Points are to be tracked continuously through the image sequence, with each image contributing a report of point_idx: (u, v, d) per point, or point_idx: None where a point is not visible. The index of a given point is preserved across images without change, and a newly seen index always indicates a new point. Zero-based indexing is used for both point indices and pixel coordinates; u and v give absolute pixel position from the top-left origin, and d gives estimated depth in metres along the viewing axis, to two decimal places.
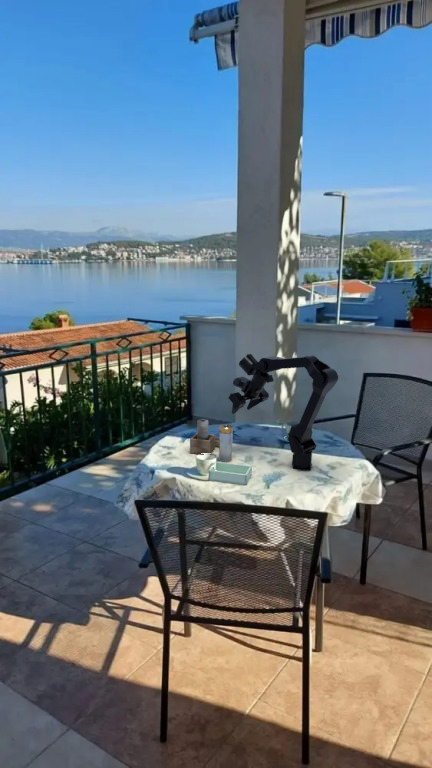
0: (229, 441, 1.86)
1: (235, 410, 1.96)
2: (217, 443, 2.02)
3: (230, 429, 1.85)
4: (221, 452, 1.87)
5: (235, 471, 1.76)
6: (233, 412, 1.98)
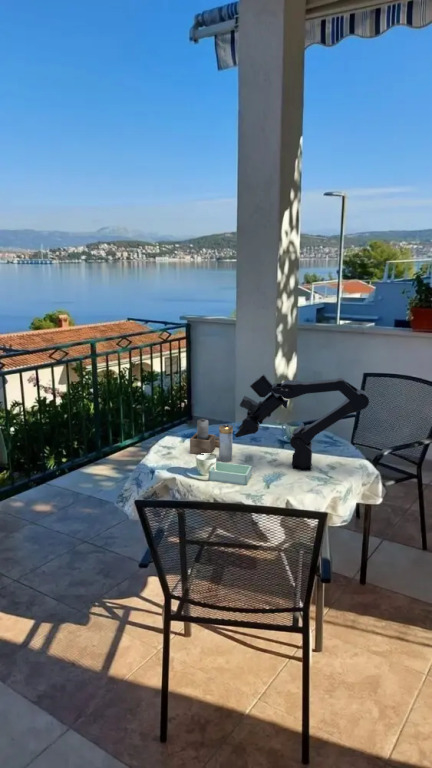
0: (229, 441, 1.86)
1: (242, 434, 1.80)
2: (217, 443, 2.02)
3: (230, 429, 1.85)
4: (221, 452, 1.87)
5: (235, 471, 1.76)
6: (238, 435, 1.81)
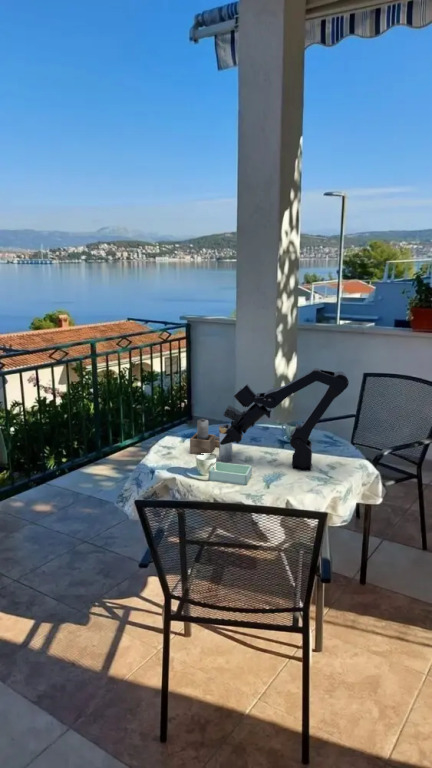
0: None
1: (227, 442, 1.84)
2: (217, 443, 2.02)
3: None
4: (221, 452, 1.87)
5: (235, 471, 1.76)
6: (223, 443, 1.85)
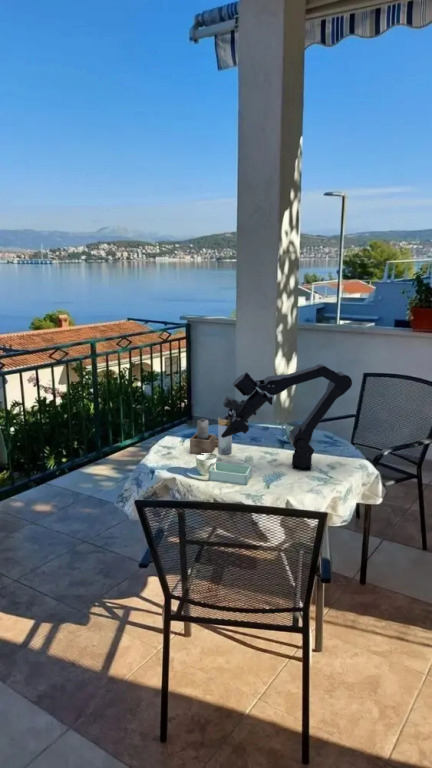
0: None
1: (230, 433, 1.75)
2: (217, 443, 2.02)
3: None
4: (222, 445, 1.77)
5: (235, 471, 1.76)
6: (224, 435, 1.76)
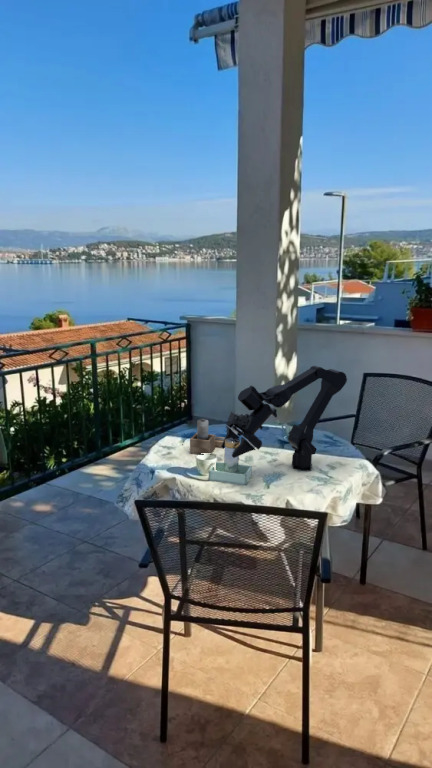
0: None
1: (241, 453, 1.66)
2: (217, 443, 2.02)
3: (239, 442, 1.69)
4: (230, 469, 1.70)
5: None
6: (236, 455, 1.66)
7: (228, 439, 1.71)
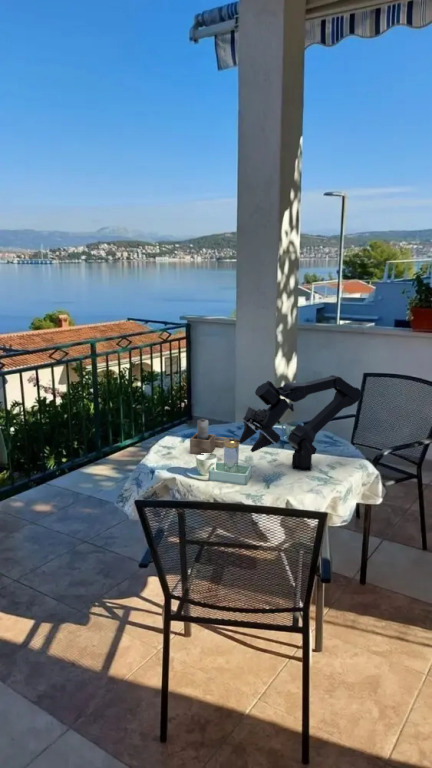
0: (238, 455, 1.70)
1: (260, 447, 1.68)
2: (217, 443, 2.02)
3: (238, 442, 1.70)
4: (230, 469, 1.70)
5: None
6: (254, 450, 1.68)
7: (227, 439, 1.71)
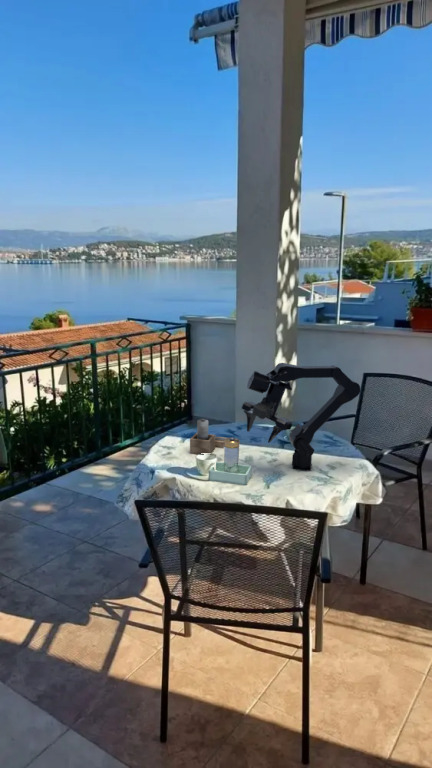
0: (238, 455, 1.70)
1: (275, 436, 1.77)
2: (217, 443, 2.02)
3: (239, 441, 1.69)
4: (230, 469, 1.70)
5: None
6: (271, 440, 1.77)
7: (228, 439, 1.71)
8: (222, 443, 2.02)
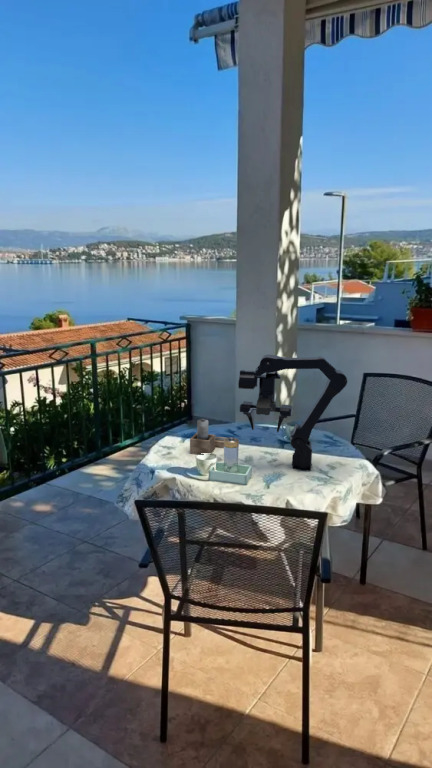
0: (237, 454, 1.70)
1: None
2: (217, 443, 2.02)
3: (238, 442, 1.70)
4: (230, 469, 1.70)
5: None
6: None
7: (227, 439, 1.71)
8: (222, 443, 2.02)
